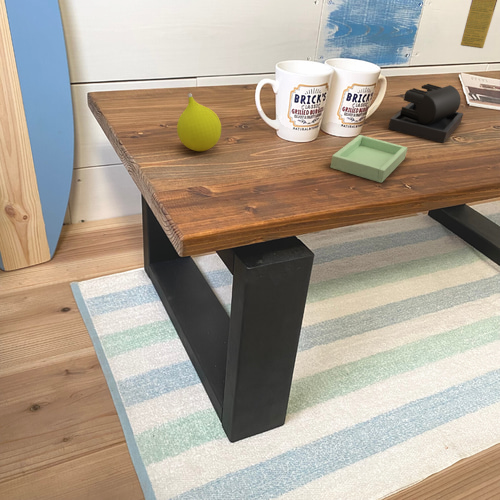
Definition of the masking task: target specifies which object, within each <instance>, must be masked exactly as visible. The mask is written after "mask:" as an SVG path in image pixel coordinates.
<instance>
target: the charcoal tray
mask: <svg viewBox="0 0 500 500" xmlns="http://www.w3.org/2000/svg"><path fill="white" fill-rule="evenodd" d="M405 107H406V108H409V109H412V110H415V109H416V105H415V104H414V103H410V102H408V104H407V105H406V106H405ZM463 116H464V113H463V112H459V111H456V112H455V113H454V114H453V115H451V116H449V117H447V118H445V119H442V120H440V121H437V122H435V123H433V124H430V125H428V126H424V125H420V124H416V123H412V122H408V121H404V120H400V119H401V118H404V116H401V110H399V111H398V112H397V113H396V114H395V115H393V116H392V117H391V118H390V119H389V124H388V128H387V129H388V130H390V131H394V132H397V133H398V132H399V133H402V134H405V135H409V136H412V137H413V136H414V137H417V138H422V139H425V140H430V141H434V142H437V143H442V144H444V143H445V142H446V141H447V140H448V139H449V137H450V136H451V135H452V134H453V133H454V132H455V130H456V129H457V128H458V127H459V126H460V124H461V123H462V120H463Z"/></svg>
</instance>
